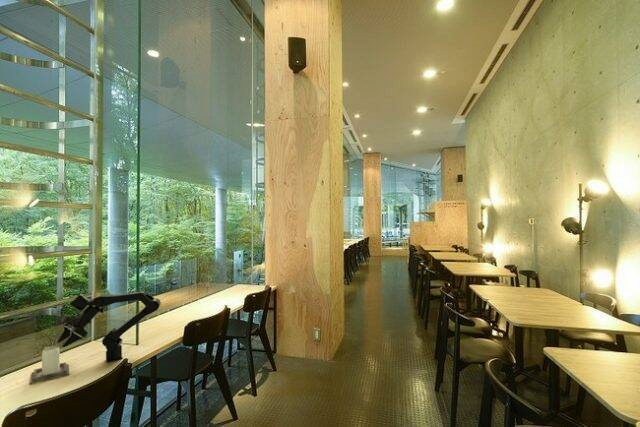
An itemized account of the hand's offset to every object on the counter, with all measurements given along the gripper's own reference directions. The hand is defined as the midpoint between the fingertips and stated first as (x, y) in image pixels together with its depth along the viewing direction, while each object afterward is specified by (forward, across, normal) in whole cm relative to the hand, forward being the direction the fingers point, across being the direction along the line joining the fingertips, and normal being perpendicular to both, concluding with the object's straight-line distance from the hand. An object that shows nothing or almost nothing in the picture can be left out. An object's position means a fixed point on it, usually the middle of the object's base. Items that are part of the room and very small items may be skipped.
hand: (60, 344), depth 157 cm
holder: (+12, 0, +6) cm, 13 cm away
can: (+11, 0, +6) cm, 13 cm away
